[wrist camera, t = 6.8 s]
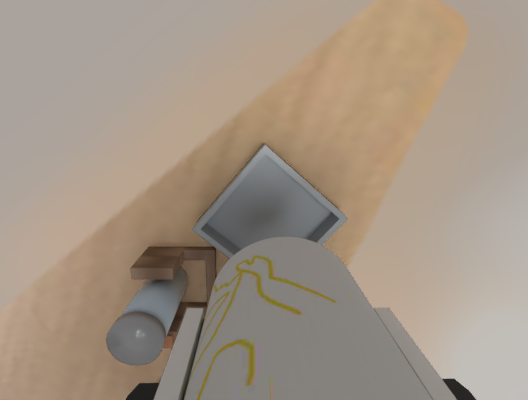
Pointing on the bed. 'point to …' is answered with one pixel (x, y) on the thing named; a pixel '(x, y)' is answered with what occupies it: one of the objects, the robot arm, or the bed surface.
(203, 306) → the clip rack
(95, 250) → the bed surface
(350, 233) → the bed surface
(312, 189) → the tray
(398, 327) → the robot arm
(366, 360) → the light grey canister
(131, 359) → the grey rounded cylinder
